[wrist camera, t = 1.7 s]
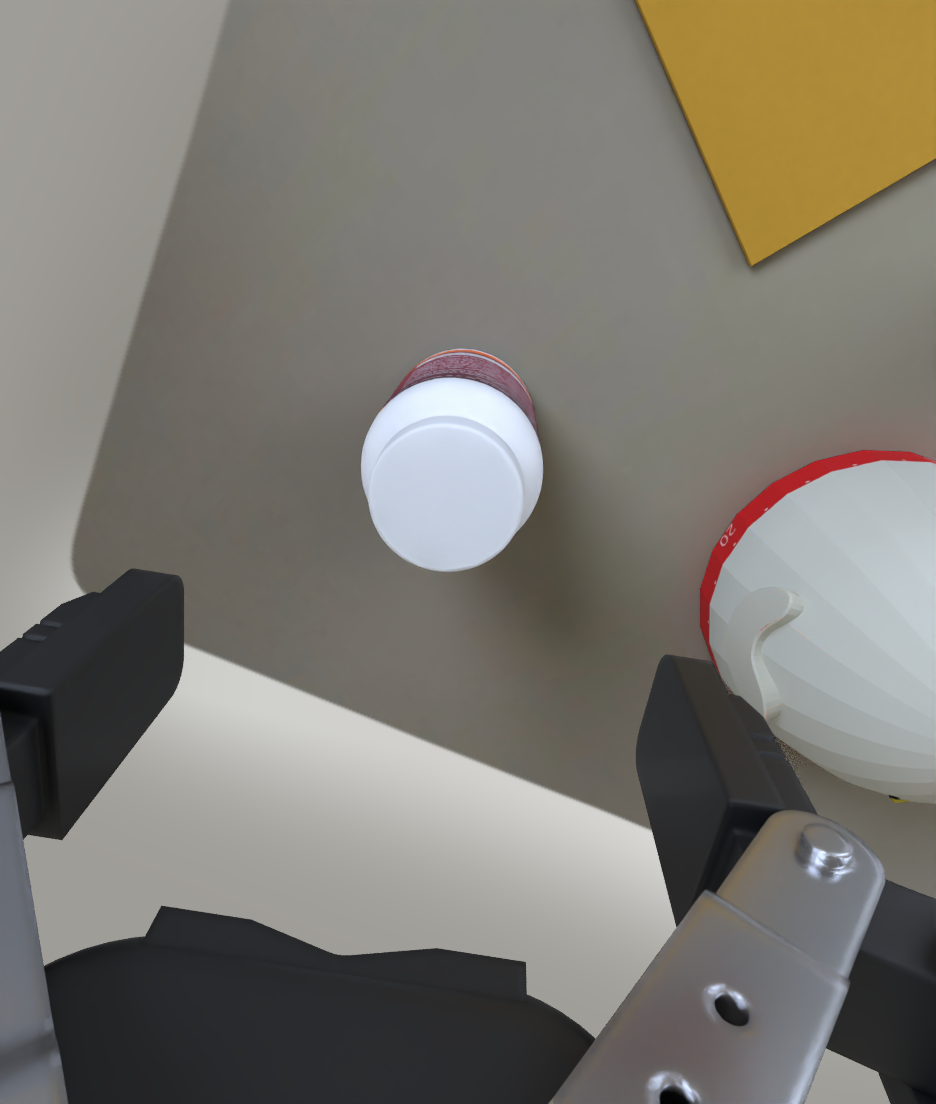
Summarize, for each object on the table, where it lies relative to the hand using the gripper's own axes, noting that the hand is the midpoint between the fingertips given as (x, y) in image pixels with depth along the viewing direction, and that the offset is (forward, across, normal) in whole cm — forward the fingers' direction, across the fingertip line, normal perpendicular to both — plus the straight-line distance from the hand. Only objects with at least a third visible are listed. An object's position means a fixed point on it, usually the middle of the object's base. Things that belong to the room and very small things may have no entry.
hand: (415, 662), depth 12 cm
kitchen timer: (+21, -19, +6) cm, 29 cm away
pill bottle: (+21, 0, 0) cm, 21 cm away
